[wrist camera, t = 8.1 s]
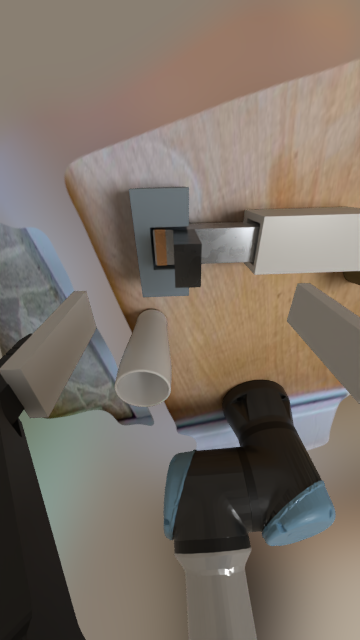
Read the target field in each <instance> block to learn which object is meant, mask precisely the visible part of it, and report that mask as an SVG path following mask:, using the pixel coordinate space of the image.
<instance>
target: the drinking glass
mask: <svg viewBox="0 0 360 640" xmlns="http://www.w3.org/2000/svg"><path fill="white" fill-rule="evenodd" d="M167 326H168V323H167V319H166V317H165V315H164V314H163V313H162V312H160V311H158V310H153V309H150V310H146V311H144V312H142V313H141V314H140V315H139V316H138V318H137V322H136V325H135V328H134V330H133V332H132V335H131V337H130V340H129V342H128V344H127V347H126V349H125V351H124V354H123V356H122V359H121V362H120V365H119V369H118V373H117V377H116V382H115V392H116V394H117V395H118V397H119V398H120V399H121V400H123V401H124V402H126V403H128V404H130V405H133V406H138V407H149V406H154V405H158V404H160V403H162V402H163V401H165V400H166V399H167V398H168V396H169V395H170V392H171V380H172V365H171V355H170V347H169V338H168V329H167Z"/></svg>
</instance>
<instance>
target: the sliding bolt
mask: <svg viewBox="0 0 360 640" xmlns="http://www.w3.org/2000/svg"><path fill="white" fill-rule="evenodd" d="M259 230H260V223H258V222H224V223H192V224H189V226H182V227H154V229H153V239H154V250H155V262H156V265H157V266H161V265H175V288H189V287H201V264H205V263H234V262H254V260H255V254H256V248H257V242H258V236H259Z"/></svg>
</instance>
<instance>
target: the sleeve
mask: <svg viewBox="0 0 360 640" xmlns="http://www.w3.org/2000/svg"><path fill="white" fill-rule="evenodd" d="M243 222H258V223H260V230H259V236H258V242H257V248H256V254H255V260H254V262H243V263H244V264H245V265H246V266H247V267H248V268H249V269H250V270H251V271H252V272H253V273H254V275H258V274H286V273H315V272H344V271H360V208H354V207H322V208H288V209H255V210H245V212H244V220H243Z"/></svg>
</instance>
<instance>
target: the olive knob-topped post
mask: <svg viewBox="0 0 360 640" xmlns="http://www.w3.org/2000/svg"><path fill="white" fill-rule="evenodd" d="M344 277H345V278H346V280H348V281H350V282H352V283H355V284H358V285H360V271H344Z"/></svg>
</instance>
